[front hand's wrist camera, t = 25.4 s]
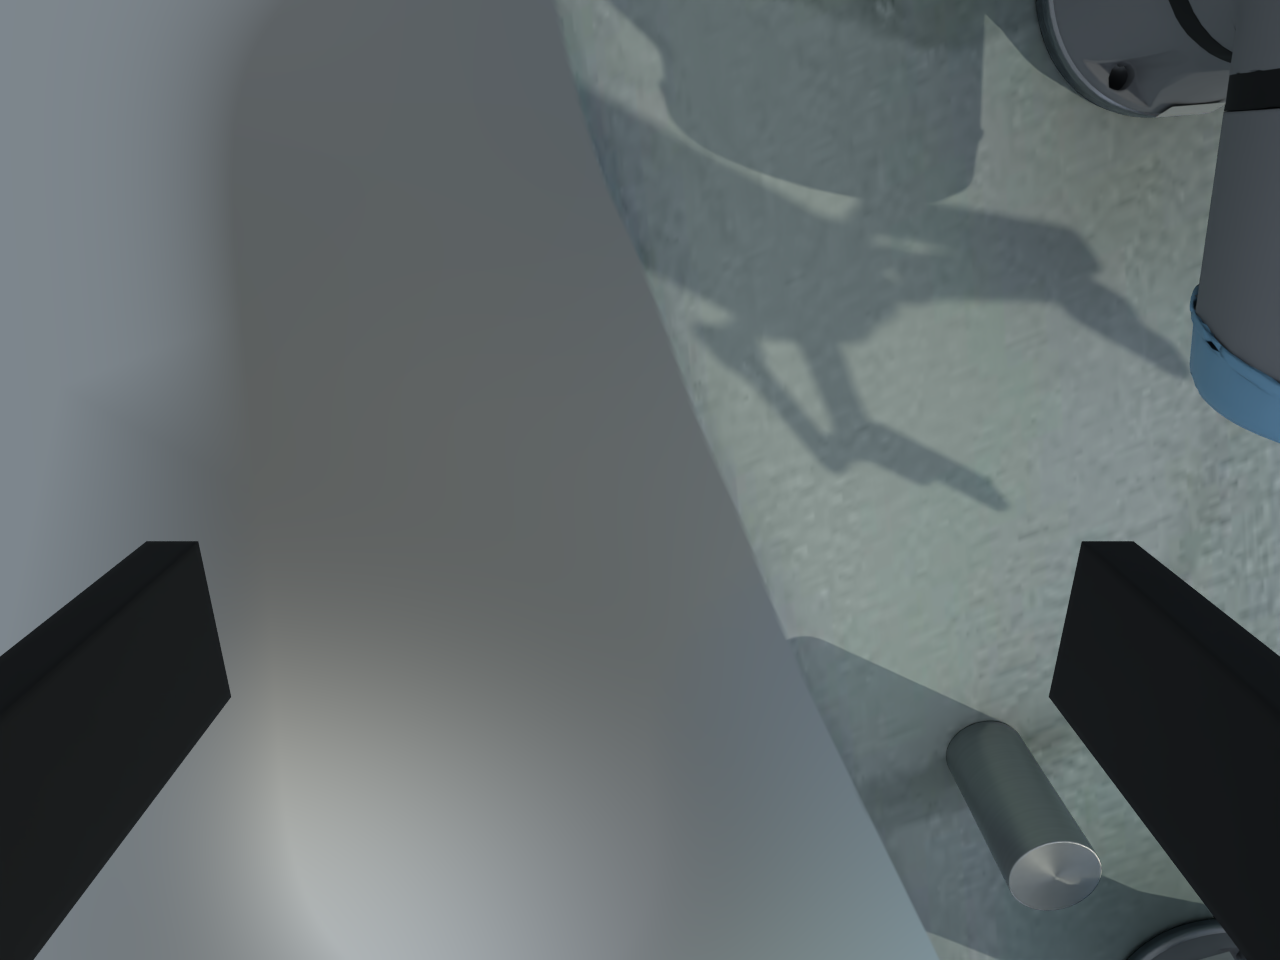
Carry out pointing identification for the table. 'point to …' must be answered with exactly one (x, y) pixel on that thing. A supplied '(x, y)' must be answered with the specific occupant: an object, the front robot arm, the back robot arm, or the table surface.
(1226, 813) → the front robot arm
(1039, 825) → the tin
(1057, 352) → the table surface
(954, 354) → the table surface
